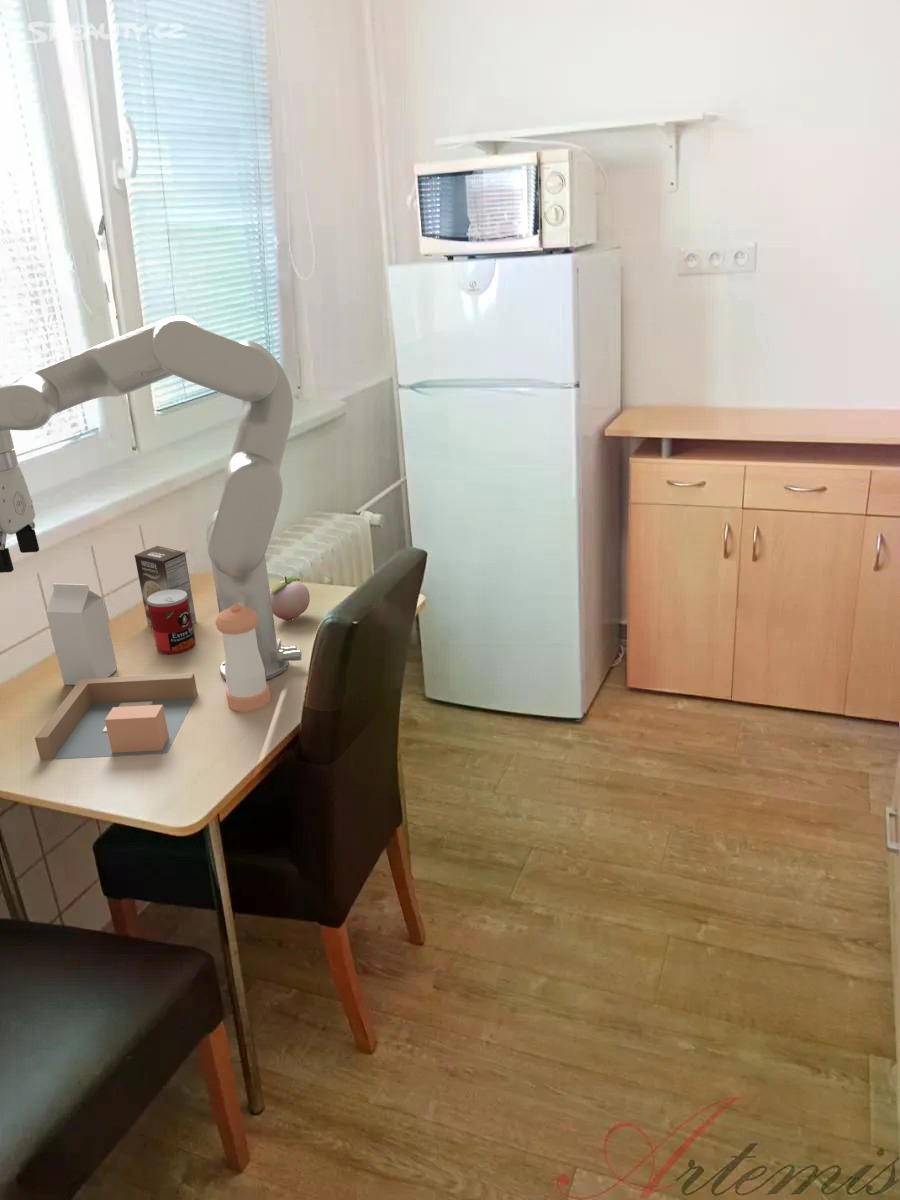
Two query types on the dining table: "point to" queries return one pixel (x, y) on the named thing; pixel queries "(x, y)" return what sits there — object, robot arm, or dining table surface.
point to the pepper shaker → (242, 659)
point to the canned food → (171, 621)
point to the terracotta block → (137, 728)
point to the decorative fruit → (289, 598)
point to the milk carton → (80, 633)
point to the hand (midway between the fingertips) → (17, 561)
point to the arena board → (91, 700)
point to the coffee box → (163, 574)
